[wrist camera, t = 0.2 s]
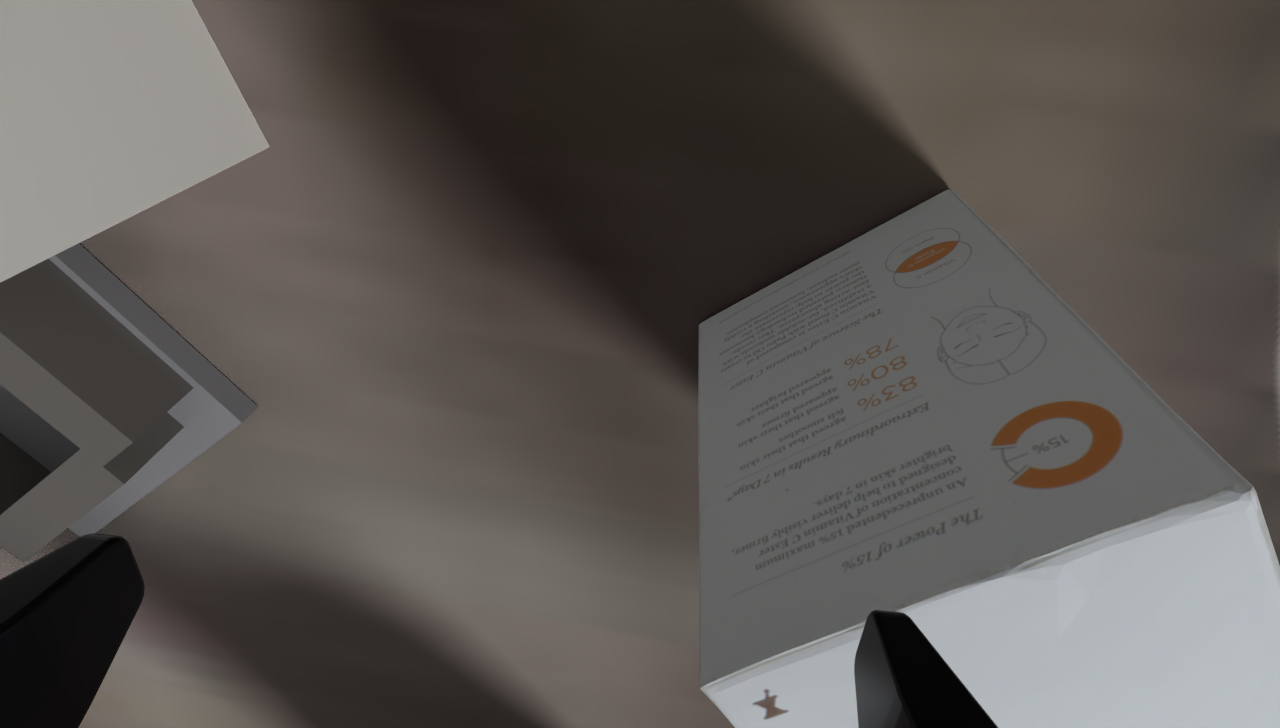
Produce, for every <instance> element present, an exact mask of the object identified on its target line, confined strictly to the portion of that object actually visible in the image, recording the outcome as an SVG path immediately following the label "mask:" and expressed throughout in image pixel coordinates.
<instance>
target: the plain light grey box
mask: <svg viewBox="0 0 1280 728" xmlns="http://www.w3.org/2000/svg"><path fill="white" fill-rule="evenodd" d="M269 147H270V146H269V144H268V143H267V141H266V139H265V137H264V135H263V133H262V131H261V129H260V128H259V126H258V124H257V122H256V120H255V118H254V116H253V114H252V113H251V111H250V109H249V107H248V105H247V103H246V101H245V99H244V98H243V96H242V94H241V92H240V90H239V88H238V86H237V84H236V82H235V81H234V79H233V77H232V75H231V73H230V71H229V69H228V67H227V66H226V64H225V62H224V60H223V58H222V56H221V54H220V52H219V51H218V49H217V47H216V45H215V43H214V41H213V39H212V37H211V36H210V34H209V32H208V30H207V28H206V26H205V24H204V22H203V21H202V19H201V17H200V15H199V13H198V11H197V9H196V7H195V6H194V4H193V2H192V0H0V283H1V282H3V281H5V280H7V279H9V278H11V277H13V276H15V275H16V274H18V273H20V272H22V271H24V270H26V269H28V268H30V267H32V266H34V265H36V264H38V263H40V262H42V261H44V260H46V259H48V258H50V257H52V256H54V255H56V254H58V253H60V252H62V251H64V250H66V249H68V248H70V247H72V246H74V245H76V244H78V243H80V242H82V241H84V240H86V239H88V238H90V237H92V236H94V235H96V234H98V233H100V232H102V231H104V230H106V229H108V228H110V227H112V226H114V225H116V224H118V223H120V222H122V221H124V220H126V219H128V218H130V217H132V216H134V215H136V214H138V213H140V212H142V211H144V210H146V209H148V208H150V207H152V206H154V205H156V204H158V203H160V202H162V201H163V200H165V199H167V198H169V197H171V196H173V195H175V194H177V193H179V192H181V191H183V190H185V189H187V188H189V187H191V186H193V185H195V184H197V183H199V182H201V181H203V180H205V179H207V178H209V177H211V176H213V175H215V174H217V173H219V172H221V171H223V170H225V169H227V168H229V167H231V166H233V165H235V164H237V163H239V162H241V161H243V160H245V159H247V158H249V157H251V156H253V155H255V154H257V153H259V152H261V151H263V150H265V149H267V148H269Z"/></svg>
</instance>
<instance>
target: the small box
mask: <svg viewBox="0 0 1280 728" xmlns="http://www.w3.org/2000/svg"><path fill="white" fill-rule="evenodd" d="M698 327H699V371H698V378H699V387H698V437H699V686H700V689H701V690H702V691H703V692H704V693H705V694H706V695H707V696H708V697H709V699H710V700H711V701H712V702H713V703H714V704H715V705H716V706H717V707H718V708H719V709H720V711H721V712H722V713H723V714H724V715H725V716H726V717H727V718H728V720H729V721H730V722H731V723H732V725H733V726H734V727H735V728H859V726H858V714H857V701H856V689H855V677H854V663H855V655H856V651H857V648H858V645H859V642H860V639H861V635H862V632H863V629H864V626H865V623H866V620H867V617H868V615H869V614H870V612H871V611H873V610H883V611H893V612H901V613H904V614H906V615H908V616H909V617H910V618H911V619H912V620H913V622H914V623H915V624H916V625H917V627H918V628H919V629H920V630H921V632H922V633H923V634H924V635H925V637H926V638H927V639H928V640H929V642H930V643H931V644H932V645H933V647H934V648H935V649H936V650H937V652H938V653H939V654H940V655H941V657H942V658H943V659H944V660H945V662H946V663H947V664H948V665H949V666H950V668H951V669H952V670H953V671H954V673H955V674H956V675H957V676H958V678H959V679H960V680H961V681H962V683H963V684H964V685H965V686H966V688H967V689H968V690H969V691H970V693H971V694H972V695H973V696H974V698H975V699H976V700H977V701H978V703H979V704H980V705H981V706H982V708H983V709H984V710H985V711H986V713H987V714H988V715H989V716H990V718H991V719H992V720H993V721H994V723H995V724H996V725H997V726H998V728H1280V566H1279V563H1278V559H1277V556H1276V553H1275V550H1274V547H1273V544H1272V541H1271V538H1270V535H1269V531H1268V528H1267V525H1266V522H1265V519H1264V516H1263V513H1262V510H1261V506H1260V503H1259V500H1258V497H1257V494H1256V491H1255V489H1254V487H1253V486H1252V485H1251V484H1250V483H1249V482H1248V481H1247V480H1246V479H1245V478H1244V477H1242V476H1241V475H1240V474H1239V473H1238V472H1237V471H1236V470H1235V469H1234V468H1233V467H1232V466H1230V465H1229V464H1228V463H1227V462H1226V461H1225V460H1224V459H1223V458H1222V457H1221V456H1220V455H1219V454H1218V453H1217V452H1216V451H1215V450H1214V449H1213V448H1212V447H1211V446H1209V445H1208V444H1207V443H1206V442H1205V441H1204V440H1203V439H1202V438H1201V437H1200V436H1199V435H1198V434H1197V433H1196V432H1195V431H1194V430H1193V429H1192V428H1191V427H1190V426H1189V425H1188V424H1187V423H1186V422H1185V421H1184V420H1183V419H1182V418H1181V417H1180V416H1179V415H1177V414H1176V413H1175V412H1174V411H1173V410H1172V409H1171V408H1170V407H1169V406H1168V405H1167V404H1166V403H1165V402H1164V401H1163V400H1162V399H1161V398H1160V397H1159V396H1158V395H1157V394H1156V393H1155V392H1154V390H1153V389H1152V388H1151V387H1150V386H1149V385H1148V384H1147V383H1146V382H1145V381H1143V380H1142V379H1141V378H1140V377H1139V376H1138V375H1137V374H1136V373H1135V372H1134V371H1133V370H1132V369H1131V368H1130V367H1129V366H1128V365H1127V364H1126V363H1125V362H1124V360H1123V359H1122V358H1121V357H1120V356H1119V355H1118V354H1117V353H1116V352H1115V351H1114V350H1113V349H1112V348H1111V347H1110V346H1109V345H1108V344H1107V343H1106V342H1105V341H1104V340H1103V339H1102V338H1101V337H1100V336H1099V335H1098V334H1097V333H1096V332H1095V331H1094V330H1093V329H1092V328H1091V327H1090V326H1089V325H1088V324H1087V323H1086V322H1085V321H1084V320H1083V319H1082V318H1081V317H1080V316H1079V315H1078V314H1077V313H1076V312H1075V311H1074V310H1073V309H1072V308H1071V307H1070V306H1069V305H1068V304H1067V303H1066V302H1065V301H1064V300H1063V299H1062V298H1061V297H1060V296H1059V295H1058V294H1057V293H1056V292H1055V291H1054V290H1053V289H1052V288H1051V287H1050V286H1049V285H1048V284H1047V283H1046V282H1045V281H1044V280H1043V279H1042V278H1041V277H1040V276H1039V275H1038V274H1037V273H1036V272H1035V271H1034V270H1033V269H1032V268H1031V267H1030V265H1029V264H1028V263H1027V262H1026V261H1025V260H1024V259H1023V258H1022V257H1021V256H1020V255H1019V254H1018V253H1017V252H1016V251H1015V250H1014V249H1013V248H1012V247H1011V246H1010V245H1009V244H1008V243H1007V242H1006V241H1005V240H1004V239H1003V238H1002V237H1001V236H1000V235H999V234H998V233H997V232H996V231H995V230H994V229H993V228H992V227H991V226H990V225H989V224H988V223H987V222H986V221H985V220H984V219H983V218H982V217H981V216H980V215H979V214H978V213H977V212H976V211H975V210H974V209H973V208H972V207H971V206H970V205H969V204H968V203H967V202H965V201H964V200H963V199H962V198H961V197H960V196H959V195H958V194H957V193H955V192H954V191H952V190H946V191H944V192H942V193H940V194H938V195H936V196H934V197H932V198H930V199H929V200H927V201H925V202H923V203H921V204H919V205H917V206H916V207H914V208H912V209H910V210H908V211H906V212H904V213H902V214H901V215H899V216H897V217H895V218H893V219H891V220H889V221H887V222H886V223H884V224H882V225H880V226H878V227H876V228H874V229H873V230H871V231H869V232H867V233H865V234H863V235H862V236H860V237H858V238H856V239H854V240H852V241H851V242H849V243H847V244H845V245H843V246H841V247H840V248H838V249H836V250H834V251H832V252H830V253H828V254H826V255H824V256H822V257H821V258H819V259H817V260H815V261H813V262H811V263H809V264H808V265H806V266H804V267H802V268H800V269H798V270H796V271H795V272H793V273H791V274H789V275H787V276H785V277H784V278H782V279H780V280H778V281H776V282H774V283H773V284H771V285H769V286H767V287H765V288H763V289H762V290H760V291H758V292H756V293H754V294H753V295H751V296H749V297H747V298H745V299H743V300H741V301H740V302H738V303H736V304H734V305H732V306H730V307H729V308H727V309H725V310H723V311H721V312H720V313H718V314H716V315H714V316H712V317H711V318H709V319H707V320H705V321H703V322H702V323H700V324H699V326H698Z"/></svg>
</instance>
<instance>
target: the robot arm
mask: <svg viewBox="0 0 1280 728" xmlns="http://www.w3.org/2000/svg"><path fill="white" fill-rule="evenodd" d="M143 595H144V581H143V578H142V575H141V573H140V570H139V568H138V565H137V563H136V560H135V558H134V555H133V553H132V550H131V547H130V545H129V543H128V542H127V540H125V539H124V538H123V537H120V536H115V535H104V534H87V535H83V536H81V537H79V538H77V539H75V540H73V541H71V542H69V543H68V544H66V545H64V546H62V547H60V548H58V549H56V550H55V551H53V552H51V553H49V554H47V555H45V556H43V557H41V558H40V559H38V560H36V561H34V562H32V563H30V564H28V565H26V566H25V567H23V568H21V569H19V570H17V571H15V572H13V573H11V574H10V575H8V576H6V577H4V578H2V579H0V728H78V727H79V725H80V723H81V722H82V720H83V718H84V716H85V714H86V712H87V711H88V709H89V707H90V705H91V703H92V701H93V699H94V697H95V695H96V693H97V691H98V689H99V687H100V685H101V683H102V681H103V679H104V677H105V675H106V673H107V671H108V669H109V667H110V665H111V663H112V661H113V659H114V657H115V655H116V653H117V651H118V649H119V647H120V645H121V643H122V641H123V639H124V637H125V635H126V633H127V631H128V629H129V627H130V625H131V623H132V621H133V619H134V617H135V615H136V613H137V611H138V609H139V607H140V604H141V602H142V599H143ZM854 677H855V689H856V701H857V714H858V726H859V728H998V726H997V725H996V724H995V723H994V721H993V720H992V719H991V718H990V716H989V715H988V714H987V713H986V711H985V710H984V709H983V708H982V706H981V705H980V704H979V703H978V701H977V700H976V699H975V698H974V696H973V695H972V694H971V693H970V691H969V690H968V689H967V688H966V686H965V685H964V684H963V683H962V681H961V680H960V679H959V678H958V676H957V675H956V674H955V673H954V671H953V670H952V669H951V668H950V666H949V665H948V664H947V663H946V662H945V660H944V659H943V658H942V657H941V655H940V654H939V653H938V652H937V650H936V649H935V648H934V647H933V645H932V644H931V643H930V642H929V640H928V639H927V638H926V637H925V635H924V634H923V633H922V632H921V630H920V629H919V628H918V627H917V625H916V624H915V623H914V622H913V620H912V619H911V618H910V617H909V616H908V615H906V614H904V613H901V612H893V611H883V610H873V611H871V612H870V614H869V615H868V617H867V620H866V623H865V626H864V629H863V632H862V635H861V639H860V642H859V645H858V648H857V651H856V655H855V663H854Z"/></svg>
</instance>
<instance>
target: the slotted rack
mask: <svg viewBox="0 0 1280 728" xmlns="http://www.w3.org/2000/svg"><path fill="white" fill-rule="evenodd" d="M256 408H257V405H256V404H255V403H253V402H252V401H251V400H250V399H249V398H248V397H247V396H246V395H245V394H244V393H243V392H241V391H240V390H239V389H238V388H237V387H236V386H235V385H234V384H233V383H232V382H230V381H229V380H228V379H227V378H226V377H225V376H224V375H223V374H222V373H221V372H220V371H218V370H217V369H216V368H215V367H214V366H213V365H212V364H211V363H210V362H209V361H207V360H206V359H205V358H204V357H203V356H202V355H201V354H200V353H199V352H198V351H196V350H195V349H194V348H193V347H192V346H191V345H190V344H189V343H188V342H187V341H186V340H184V339H183V338H182V337H181V336H180V335H179V334H178V333H177V332H176V331H175V330H173V329H172V328H171V327H170V326H169V325H168V324H167V323H166V322H165V321H164V320H163V319H161V318H160V317H159V316H158V315H157V314H156V313H155V312H154V311H153V310H152V309H150V308H149V307H148V306H147V305H146V304H145V303H144V302H143V301H142V300H141V299H139V298H138V297H137V296H136V295H135V294H134V293H133V292H132V291H131V290H130V289H129V288H127V287H126V286H125V285H124V284H123V283H122V282H121V281H120V280H119V279H118V278H116V277H115V276H114V275H113V274H112V273H111V272H110V271H109V270H108V269H107V268H106V267H104V266H103V265H102V264H101V263H100V262H99V261H98V260H97V259H96V258H95V257H93V256H92V255H91V254H90V253H89V252H88V251H87V250H86V249H85V248H84V247H83V246H81V245H80V244H79V243H78V244H76V245H74V246H72V247H70V248H68V249H66V250H64V251H62V252H60V253H58V254H56V255H54V256H52V257H50V258H48V259H46V260H44V261H42V262H40V263H38V264H36V265H34V266H32V267H30V268H28V269H26V270H24V271H22V272H20V273H18V274H16V275H15V276H13V277H11V278H9V279H7V280H5V281H3V282H1V283H0V548H2V547H3V548H4V549H6V550H7V551H8V552H10V553H11V554H13V555H14V556H15V557H17V558H18V559H19V560H21V561H22V562H24V561H26V560H27V559H28V558H30V557H31V556H32V555H33V554H35V553H36V552H37V551H39V550H40V549H41V548H42V547H44V546H45V545H46V544H48V543H49V542H50V541H52V540H53V539H54V538H55V537H57V536H58V535H59V534H61V533H62V532H63V531H65V530H66V529H67V528H68V529H70V530H71V531H72V532H74V533H75V534H76V535H78V536H79V537H81V536H83V535H87V534H95V533H96V532H98V531H99V530H100V529H102V528H103V527H104V526H106V525H107V524H108V523H110V522H111V521H112V520H114V519H115V518H116V517H118V516H119V515H120V514H122V513H123V512H124V511H126V510H127V509H128V508H130V507H131V506H132V505H134V504H135V503H136V502H138V501H139V500H140V499H142V498H143V497H144V496H146V495H147V494H148V493H150V492H151V491H152V490H154V489H155V488H156V487H158V486H159V485H160V484H162V483H163V482H164V481H166V480H167V479H168V478H170V477H171V476H172V475H174V474H175V473H176V472H178V471H179V470H180V469H182V468H183V467H184V466H185V465H187V464H188V463H189V462H191V461H192V460H193V459H195V458H196V457H197V456H199V455H200V454H201V453H203V452H204V451H205V450H207V449H208V448H209V447H211V446H212V445H213V444H215V443H216V442H217V441H219V440H220V439H221V438H223V437H224V436H225V435H227V434H228V433H229V432H231V431H232V430H233V429H235V428H236V427H237V426H239V425H240V424H241V423H243V421H244V420H245V419H246V418H247V417H248V416H249V415H250V414H251V413H252V412H253V411H254V410H255V409H256Z"/></svg>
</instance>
